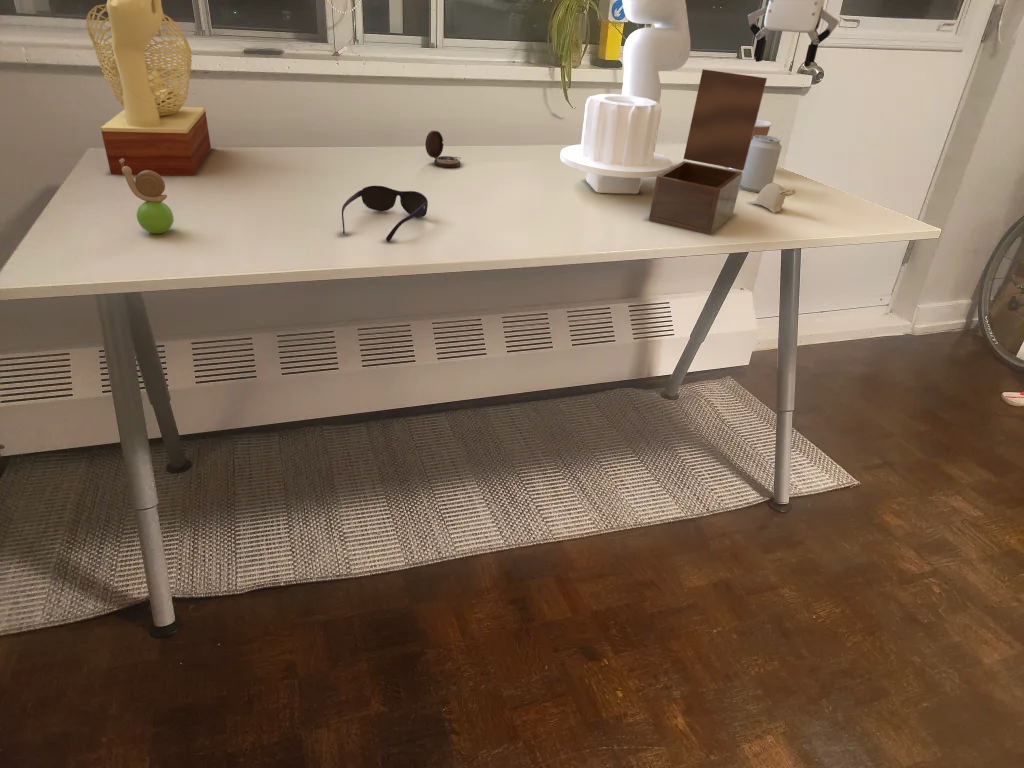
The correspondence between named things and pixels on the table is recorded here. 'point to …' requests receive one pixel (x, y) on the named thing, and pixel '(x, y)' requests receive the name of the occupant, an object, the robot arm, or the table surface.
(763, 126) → the coffee cup
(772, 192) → the beige rounded piece
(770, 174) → the can
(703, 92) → the chest lid
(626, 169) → the flanged gear
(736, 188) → the chest
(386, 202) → the sunglasses
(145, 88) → the cream lattice sculpture
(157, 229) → the snail figurine
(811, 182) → the table surface
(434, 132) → the compass
